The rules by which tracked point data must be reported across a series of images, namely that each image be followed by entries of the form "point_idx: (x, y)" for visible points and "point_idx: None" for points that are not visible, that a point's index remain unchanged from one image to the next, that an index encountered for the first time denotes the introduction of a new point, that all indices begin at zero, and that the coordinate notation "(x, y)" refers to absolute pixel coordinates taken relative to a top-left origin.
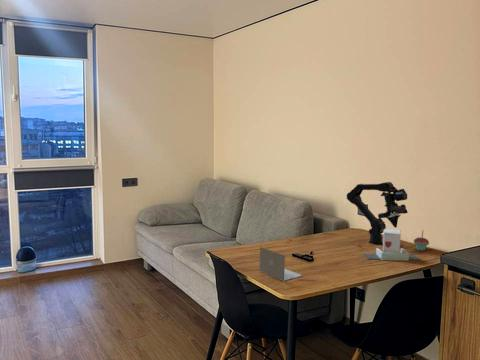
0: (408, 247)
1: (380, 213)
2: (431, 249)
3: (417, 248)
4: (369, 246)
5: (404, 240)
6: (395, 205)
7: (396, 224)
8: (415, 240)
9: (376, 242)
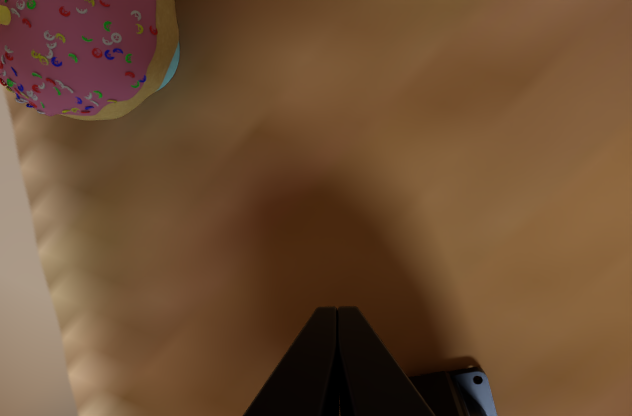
0: (219, 152)
1: None
2: None
3: (177, 48)
4: (624, 351)
5: (80, 372)
6: None
7: (314, 356)
8: (144, 32)
9: (469, 401)
